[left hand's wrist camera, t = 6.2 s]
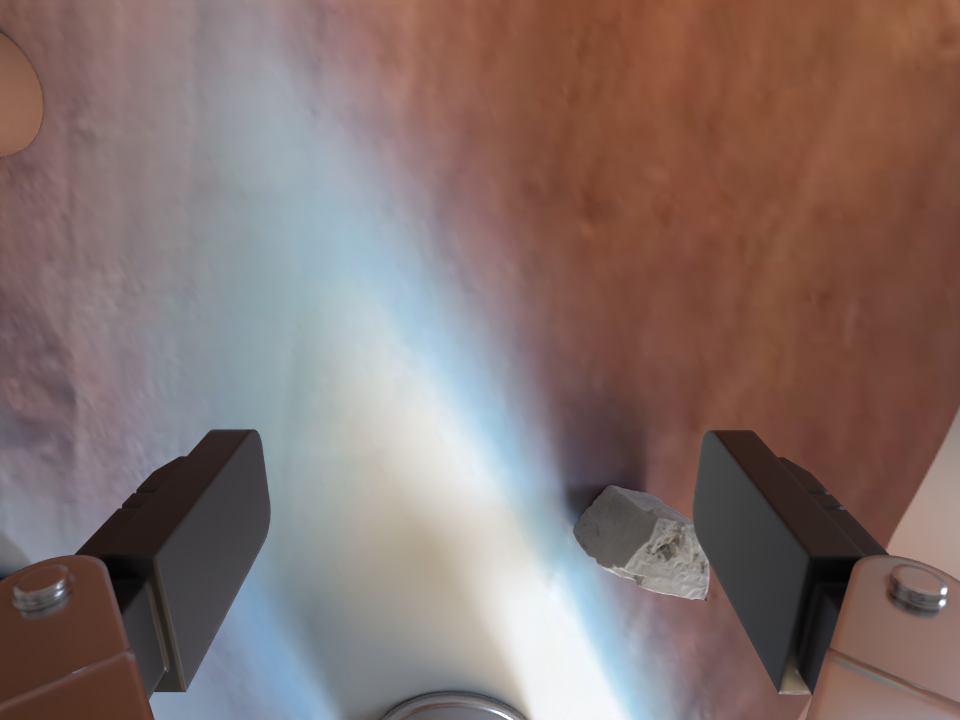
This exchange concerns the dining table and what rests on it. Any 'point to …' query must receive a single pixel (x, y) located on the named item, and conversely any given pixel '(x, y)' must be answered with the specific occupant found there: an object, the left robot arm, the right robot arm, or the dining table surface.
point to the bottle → (18, 99)
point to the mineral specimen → (644, 543)
